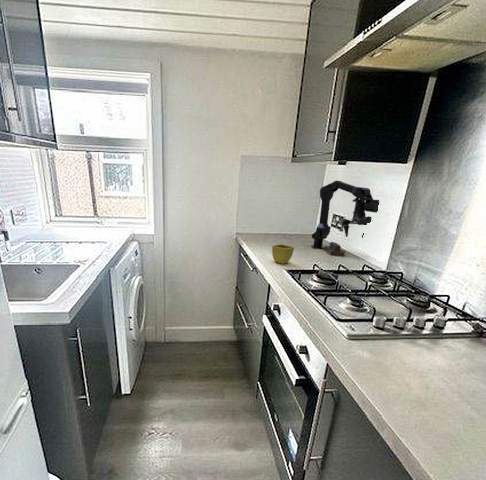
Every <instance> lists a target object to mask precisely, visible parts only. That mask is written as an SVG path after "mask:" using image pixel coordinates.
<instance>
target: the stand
mask: <svg viewBox="0 0 486 480" xmlns="http://www.w3.org/2000/svg"><path fill="white" fill-rule="evenodd" d="M323 248H324V249H323V250H324V251H325V252H327V253H328V255H330V256H340V257H344V256H345V253H346V252H345V251H344V250H343V249H342V248H340V251H334V250H333V249H332V248H330V245H324V247H323Z"/></svg>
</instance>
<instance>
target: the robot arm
mask: <svg viewBox="0 0 486 480" xmlns="http://www.w3.org/2000/svg"><path fill="white" fill-rule="evenodd" d="M338 190H342V191H345V192H347V193H350V194H352V196H354V197H355V198H354V199H352V202H353V203H354V208H353V211H352V218H351V219H347V218H340V220H339V222H338V224H339V225H340V226H342V227H343V230H344V235H345V238H348V236H349V228H350V225H358V226H363V225H367V223H370V222H371V220H372V216H369V215H368V216H366V212H368V213H369V212H370V213H375V214H377V213H378V212H379V211H378V205H379V203H380V199H374V198H373V195H372V193H371V189H370V188H368V187H362V186H355V185H352V184H350V183H347V182H344V181H341V180H334V181H332V182H331V183H328V184H326V185H323V186H322V187H320V189H319V197H320V200H321V205H320V214H319V223H318V224H317V226H316V229H315V232H314V233H312V234H311V239H313V244H312V245H311V247H312V248H313V249H323V250H324V248H325V247H323V245H324V240H327V238H328V236H329V235H330V233H331V226H329V223H328V222H329V213H330V205H331V204H330V203H331V200H332V199H333V197H334V194H335V193H336V192H337V191H338ZM377 211H378V212H377ZM363 235H364V233H363ZM363 235H362V234H361V238H362V239H363V238H364V237H363Z"/></svg>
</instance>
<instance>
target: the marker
mask: <svg viewBox="0 0 486 480" xmlns="http://www.w3.org/2000/svg"><path fill="white" fill-rule="evenodd" d="M328 246H330V248H332V249H333V250H334V251H340V249H342V246H341V245H340V244H338V243H337V242H334V241H330V242H329V245H328Z"/></svg>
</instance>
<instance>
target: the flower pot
mask: <svg viewBox="0 0 486 480" xmlns="http://www.w3.org/2000/svg"><path fill="white" fill-rule="evenodd" d="M294 250H295V246H292V245H288V244H284V243H283V244H282V243H279V244H275V245H272V246H271V254H272V258H273V261H274V262H275V263H279V264H282V265H284V264H287V263H289V261H290V260H291V259H292V257H293V254H294Z"/></svg>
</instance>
